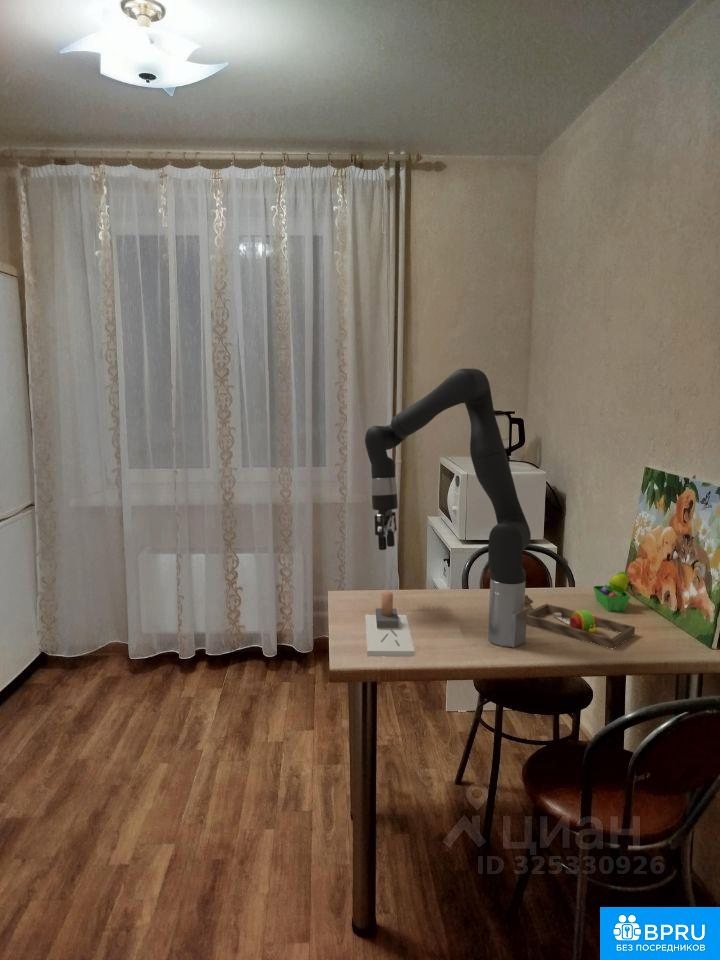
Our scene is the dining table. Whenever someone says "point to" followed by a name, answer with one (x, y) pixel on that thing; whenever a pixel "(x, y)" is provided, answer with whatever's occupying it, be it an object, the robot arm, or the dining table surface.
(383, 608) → the sanding block
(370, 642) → the marked board
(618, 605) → the fruit basket
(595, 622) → the toy snail
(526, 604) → the wooden fragment
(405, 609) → the dining table surface
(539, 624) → the wooden tray
